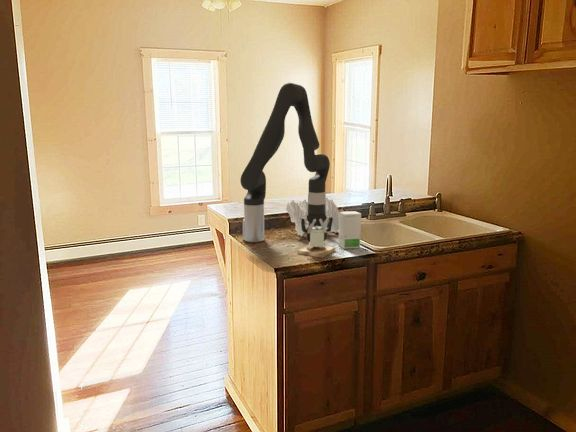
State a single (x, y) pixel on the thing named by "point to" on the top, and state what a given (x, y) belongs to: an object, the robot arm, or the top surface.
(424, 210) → the top surface
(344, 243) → the skincare box
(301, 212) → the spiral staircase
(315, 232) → the pale green cylinder
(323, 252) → the post
